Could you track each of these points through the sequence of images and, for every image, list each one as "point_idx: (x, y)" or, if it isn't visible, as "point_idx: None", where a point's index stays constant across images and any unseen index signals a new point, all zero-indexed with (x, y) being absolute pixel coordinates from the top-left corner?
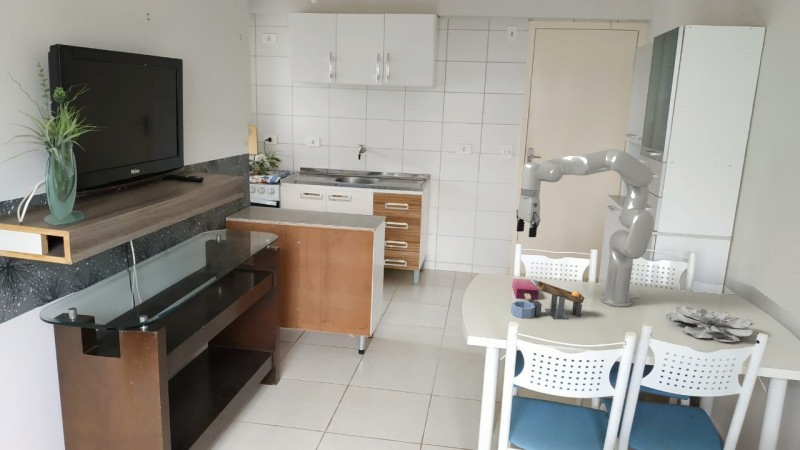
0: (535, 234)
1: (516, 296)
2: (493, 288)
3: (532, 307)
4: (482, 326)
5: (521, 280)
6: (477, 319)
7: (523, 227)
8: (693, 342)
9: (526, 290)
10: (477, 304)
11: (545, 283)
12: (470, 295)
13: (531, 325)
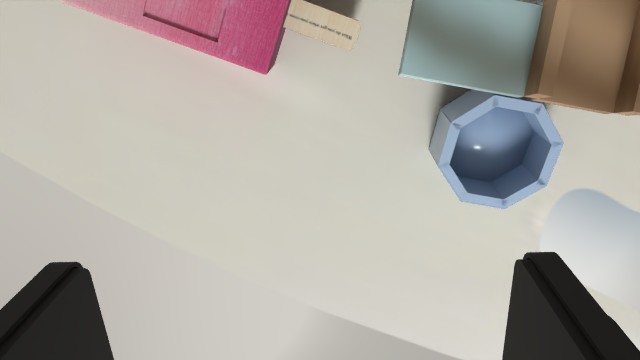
0: (612, 320)
1: (272, 66)
2: (113, 117)
3: (548, 126)
4: None
5: None
6: (478, 333)
7: (49, 327)
8: None
9: (283, 18)
10: (325, 275)
11: (560, 39)
12: (213, 262)
13: (613, 161)
